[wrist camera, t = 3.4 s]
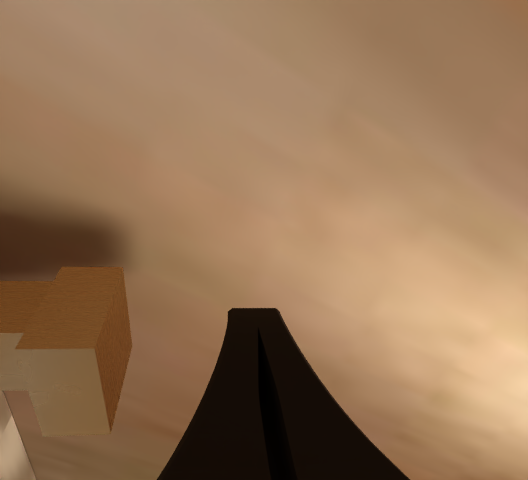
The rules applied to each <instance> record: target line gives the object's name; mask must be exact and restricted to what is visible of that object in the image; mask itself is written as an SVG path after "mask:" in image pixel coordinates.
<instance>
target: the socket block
mask: <svg viewBox="0 0 528 480" xmlns="http://www.w3.org/2000/svg"><path fill="white" fill-rule="evenodd" d="M0 480H36V478H35V475H34V472H33V470H32V467H31V464H30V462H29V459H28V456H27V454H26V451H25V449H24V446H23V443H22V441H21V438H20V435H19V433H18V430H17V427H16V425H15V422H14V419H13V417H12V414H11V411H10V409H9V406H8V403H7V401H6V398H5V395H4V393H3V391H0Z"/></svg>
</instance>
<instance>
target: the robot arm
mask: <svg viewBox="0 0 528 480" xmlns="http://www.w3.org/2000/svg"><path fill="white" fill-rule="evenodd" d="M157 480H410V479H409V478H408V477H407V476H406V475H404V474H403V473H402V472H401V471H400V470H399V469H398V468H397V467H396V466H395V465H394V464H393V463H392V462H391V461H390V460H389V459H388V458H387V457H386V456H385V455H384V454H383V453H382V452H381V451H380V450H379V449H378V448H377V447H376V446H375V445H374V444H373V443H372V442H371V441H370V440H369V439H368V438H367V437H366V435H365V434H364V433H363V432H362V431H361V430H360V429H359V428H358V427H357V426H356V425H355V423H354V422H353V421H352V420H351V419H350V418H349V416H348V415H347V414H346V413H345V412H344V410H343V409H342V408H341V407H340V406H339V404H338V403H337V402H336V401H335V399H334V398H333V397H332V395H331V394H330V393H329V391H328V390H327V389H326V387H325V386H324V385H323V383H322V382H321V381H320V379H319V378H318V376H317V375H316V373H315V372H314V371H313V369H312V368H311V366H310V364H309V363H308V361H307V360H306V358H305V357H304V355H303V354H302V352H301V351H300V349H299V347H298V346H297V344H296V342H295V341H294V339H293V337H292V335H291V334H290V332H289V330H288V328H287V326H286V324H285V322H284V320H283V318H282V316H281V314H280V312H279V311H278V310H277V309H276V308H232V309H231V310H229V311H228V323H227V329H226V334H225V337H224V341H223V345H222V348H221V351H220V354H219V357H218V360H217V363H216V366H215V369H214V371H213V374H212V376H211V379H210V381H209V383H208V386H207V388H206V391H205V393H204V395H203V398H202V400H201V402H200V404H199V406H198V408H197V410H196V412H195V414H194V416H193V418H192V420H191V422H190V424H189V426H188V428H187V430H186V432H185V433H184V435H183V437H182V439H181V440H180V442H179V444H178V446H177V448H176V449H175V451H174V453H173V455H172V456H171V458H170V460H169V461H168V463H167V465H166V466H165V468H164V469H163V471H162V472H161V474H160V476H159V477H158V479H157Z"/></svg>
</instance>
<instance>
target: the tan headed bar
mask: <svg viewBox="0 0 528 480" xmlns="http://www.w3.org/2000/svg"><path fill="white" fill-rule="evenodd" d="M131 349H132V339H131V331H130V323H129V315H128V306H127V298H126V290H125V281H124V273H123V267H61V269H60V271H59V273H58V274H57V276H56V278H55V280H54V281H0V391H6V390H28V392H29V395H30V398H31V401H32V404H33V407H34V410H35V413H36V416H37V419H38V422H39V426H40V429H41V432H42V435H43V437H47V436H75V435H102V434H111V430H112V426H113V422H114V418H115V414H116V410H117V406H118V402H119V398H120V394H121V390H122V386H123V381H124V377H125V373H126V369H127V365H128V361H129V357H130V353H131Z"/></svg>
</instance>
